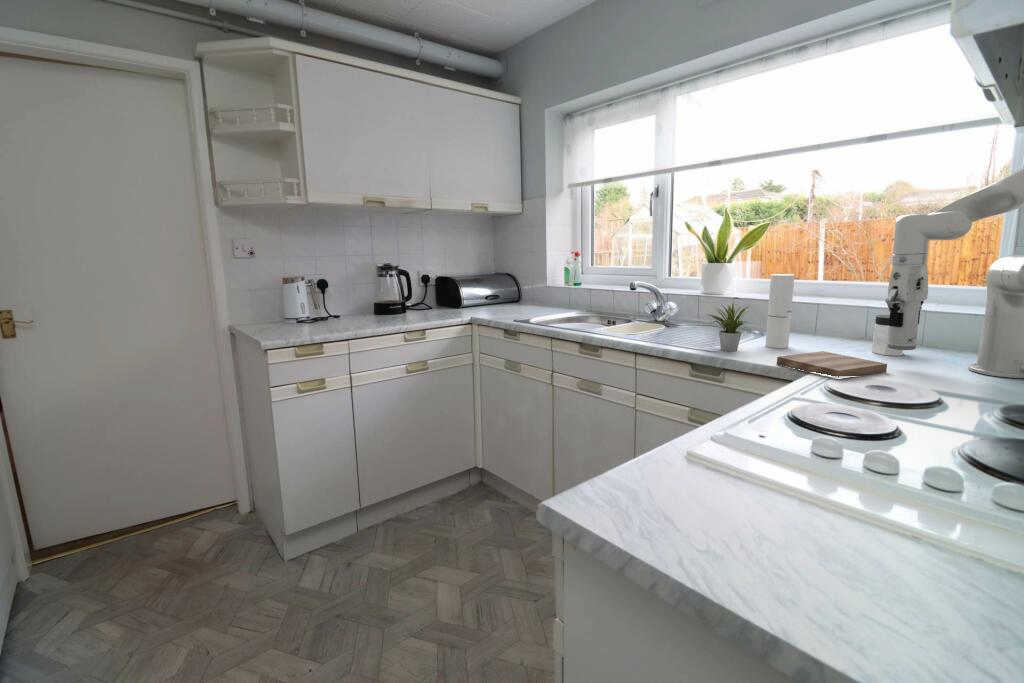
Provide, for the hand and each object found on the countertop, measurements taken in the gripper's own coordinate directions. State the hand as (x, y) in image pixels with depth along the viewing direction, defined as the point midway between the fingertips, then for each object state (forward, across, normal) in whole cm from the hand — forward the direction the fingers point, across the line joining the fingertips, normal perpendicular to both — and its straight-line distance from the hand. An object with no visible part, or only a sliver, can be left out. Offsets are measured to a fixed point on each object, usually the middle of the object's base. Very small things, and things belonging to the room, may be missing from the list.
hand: (904, 324), depth 140 cm
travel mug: (+7, 0, 0) cm, 7 cm away
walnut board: (+12, -18, +8) cm, 23 cm away
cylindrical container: (+12, -4, +38) cm, 40 cm away
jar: (+13, +18, +15) cm, 27 cm away
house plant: (+11, -22, +41) cm, 48 cm away
